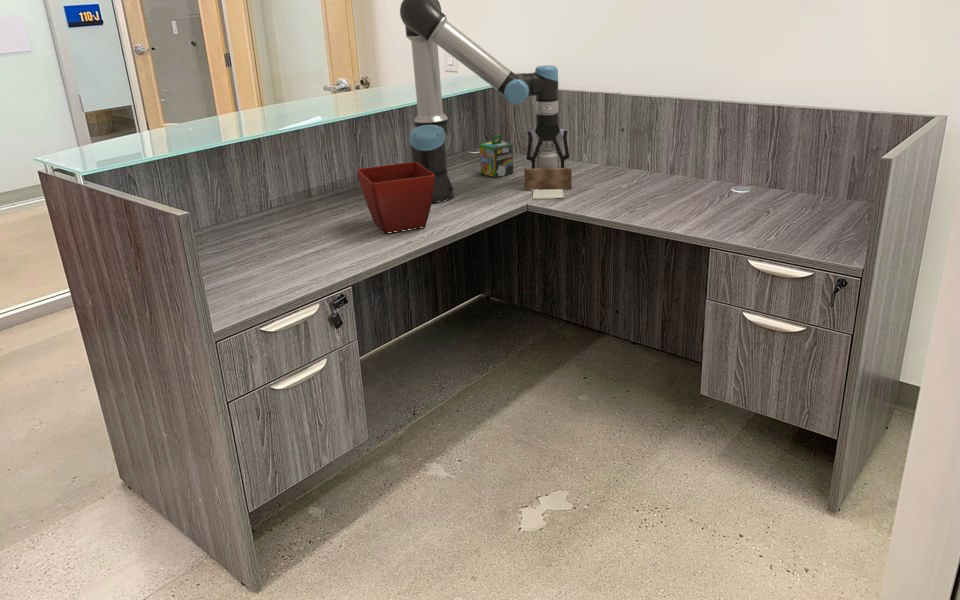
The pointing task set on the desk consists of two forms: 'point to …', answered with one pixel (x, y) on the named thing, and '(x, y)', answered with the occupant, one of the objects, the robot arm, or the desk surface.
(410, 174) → the plant pot
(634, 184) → the desk surface
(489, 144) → the chalk box
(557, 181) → the walnut plank
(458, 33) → the robot arm
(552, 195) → the pad
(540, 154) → the can
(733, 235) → the desk surface
